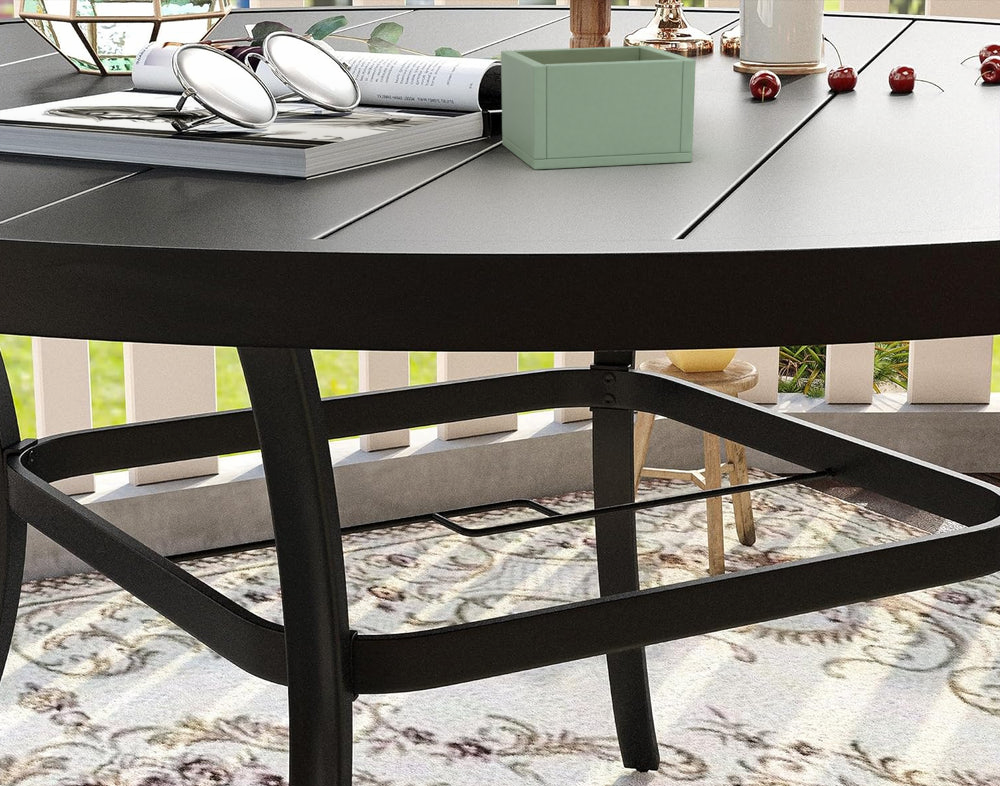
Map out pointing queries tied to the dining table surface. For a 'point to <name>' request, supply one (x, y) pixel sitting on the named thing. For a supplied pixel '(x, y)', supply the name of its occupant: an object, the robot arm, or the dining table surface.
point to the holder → (597, 106)
